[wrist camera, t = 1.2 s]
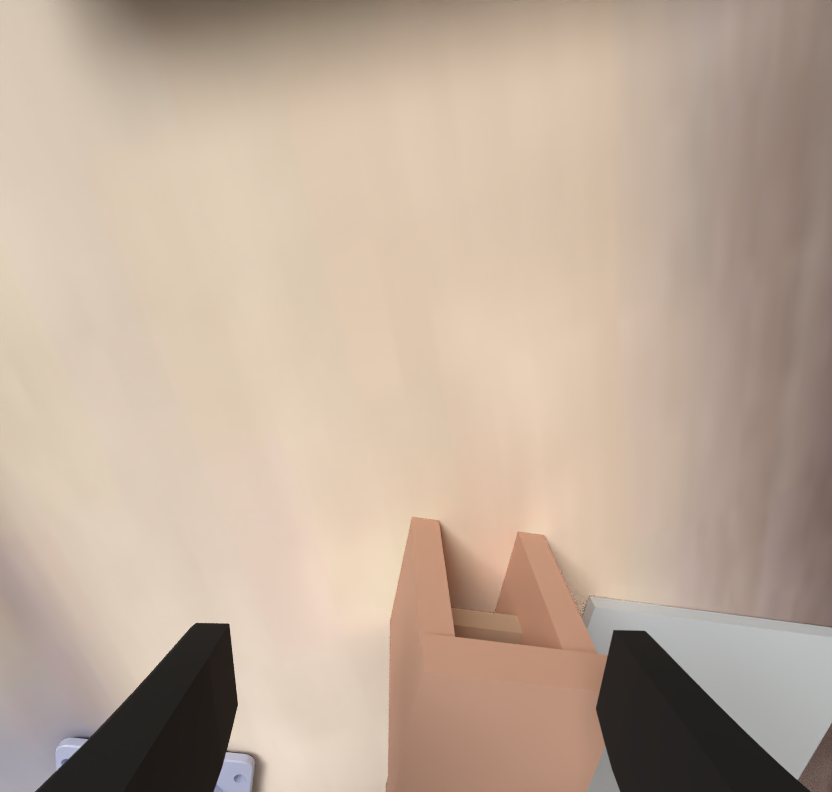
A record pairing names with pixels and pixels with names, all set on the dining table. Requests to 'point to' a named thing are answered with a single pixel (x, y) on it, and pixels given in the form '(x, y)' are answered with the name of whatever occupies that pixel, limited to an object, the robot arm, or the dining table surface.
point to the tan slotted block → (490, 679)
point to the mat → (735, 672)
